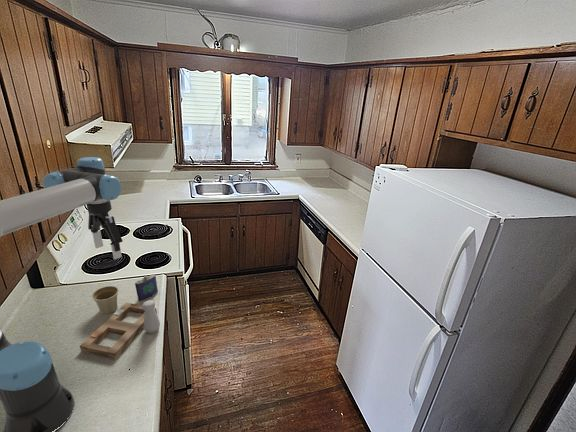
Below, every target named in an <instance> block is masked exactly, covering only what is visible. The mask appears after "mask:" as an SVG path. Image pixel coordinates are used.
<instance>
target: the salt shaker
mask: <svg viewBox="0 0 576 432" xmlns="http://www.w3.org/2000/svg"><path fill="white" fill-rule="evenodd" d="M141 305H142V308H143V310H144V311H145V317H144V328H143V329H144V331H145V332H146V333H147V334H150V333H151V334H152V333H153V334H154V333H157V332H158V330H159V328H160V326H161V322H160V319H159V316H158V315H157V313H156V312H155V309H154V308H156V307H155V306H156V303H155V301H154V300H152V299H149V300H146V301H144V302H143V303H142V304H141ZM151 334H150V335H151Z"/></svg>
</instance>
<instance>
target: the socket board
mask: <svg viewBox="0 0 576 432" xmlns="http://www.w3.org/2000/svg"><path fill="white" fill-rule="evenodd" d="M142 305H143V304H137V303H130V302H125V303H124V304H122V306H120V308H118V309H116V311H114V312H113V314H112V315H111V316H110V317H109V318H108V319H107V320H106V321H105V322H104V323H102V325H101V326H99V327H98V328H97V329H96V330H95V331H94V332H92V333H91V335H90V336H89V337H87V339H85V340H84V341H83V342H82V343H81V344H80V345H79V348H80V352H83V353H86V352H87V354H92V355H97V356H100V355H101V357H105V356H106V357H105V358H110V357H111V359H114V358H117V357H120V355H121V354H123V352H124V351H125V350H126V349H125V348H127V347H128V346H129V345H130V344H131V343H132V342H133V341H134V339H135V338H136V337H137V336H138V335H139V334H140V333H141V331H142V330H143V329H144V317H145V311H144V310H143V308H142ZM154 309H155V312H156V314H157V313H158V311H157V310H158V309H157V307H155V308H154ZM129 313H134V314H135V313H136V314H141V316H139V317H138V319H137V320H135V321H134V323H132V322H128V321H124V318H125V317H126V316H128V315H129ZM139 332H140V333H139ZM109 333H110V334H115V335H116V334H117V335H121V336H120V338H118V340H117V341H116V342H115V343H114V344H113V345H112V346H106V345H103V344H102V345H101V344H99V343H100V342H101V341H102V340H103V339H104V338H105V337H106V336H107V335H108V334H109ZM124 349H125V350H124ZM117 359H118V358H117Z"/></svg>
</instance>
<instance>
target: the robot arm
mask: <svg viewBox="0 0 576 432" xmlns="http://www.w3.org/2000/svg"><path fill="white" fill-rule="evenodd" d="M76 162H77V164H76V165H77V166H75V167H70V168H67V169H62V170H57V171H56V170H55V171H53V172H51V173H47V174H46V175H45V176H43V179H42V184H43V188H41V189H38V190H33V191H30V192H27V193H23V194H22V193H21V194H20V195H19V194H18V195H16V196H12V197H8V198H5V199H2V200H0V239H1V237H2V236H6V235H8V234H10V233H14V232H16V231H18V230H19V231H20V230H21V229H23V228H27V227H30V226H32V225H34V224H35V225H36V224H38V223H40V222H43V221H46V220H48V219H51V218H54V217H56V216H59V215H62V214H65V213H67V212H70V211H72V210H74V209H79V208H81V207H83V206H85V205H86V208H87V209H86V210H87V212H88V226H87V227H88V228H87V229H88V230H89V231H90V232H91V233H92V238H93V243H94V247H95V249H99V248H103V247H104V243H103V238H102V233H101V228H102V229H103V230H105V233H106V234H107V237H108V239H109V241H110V242H111V243H109V244H110V246H111V252H112V257H113V260H118V259H120V258H123V257H122V250H121V245H120V243H122V242H124V241H123V239H122V235H121V233H120V231H119V228H118V227H117V224H116V221H115V217H114V216H110V215H109V212H111V210H112V203H111V201H112V200H116V199H118V198H119V197H120V195H121V193H122V189H123V188H122V187H123V186H122V184H121V183H122V182H121V180H120V179H119V178H118V177H116V176H114V175H109V174H106V168H105V164H104V162H103V159H102V158H101V157H97V156H90V157H89V156H86V157H80V158H78V159H77V161H76ZM52 360H53V359H52V355H51V354H50V352H49V350H48V349H47V347H46V346H45V345H44V344H43V343H40V342H38V341H33V340H30V341H29V340H28V341H23V342H22V343H21V342H16V343H14V344H13V343H11V342H10V341H9V340H8V339H7V336H6V335H5V334H4V333H3V331H2V329H1V328H0V402H1V404H2V407H3V408H4V411H5V413H6V414H5V415H6V416H5V423H4V424H5V425H4V432H52V431H54V430H55V429H57V428H58V427H60V426H61V425H62V424H63V423H64V422H65V421H66V420H67V418H68V417H69V416H70V414H71V412H72V410H73V411H74V409H73V407H74V408H75V399H74V396H73V394H72V392H71V391H70V390H69V389H68V388H66V387H65V386H64V385H62V384H61V383H60V381H59V378H58V377H59V376H58V375H57V373H56V370H55V366H54V363H53V361H52ZM72 413H73V412H72ZM71 415H72V414H71ZM70 417H71V416H70ZM70 417H69V418H70ZM67 421H68V420H67ZM67 421H66V422H67Z"/></svg>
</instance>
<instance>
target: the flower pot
mask: <svg viewBox="0 0 576 432" xmlns="http://www.w3.org/2000/svg"><path fill="white" fill-rule="evenodd" d="M118 293H119V287H117V286H114V285H107V286H103V287H100V288H98V289H96V290H95V291H93V293H92V294H91V298H92V299H93V300H94V302H95V303H96V305H97V308H98V310H99V312H100V314H102V315H109V314H112V313H115V312H116V311H117V310H118Z"/></svg>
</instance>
